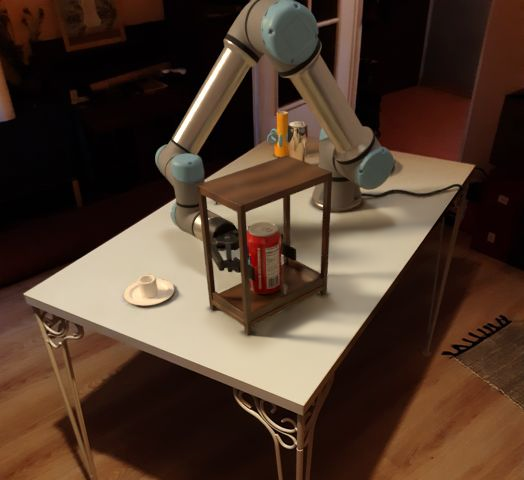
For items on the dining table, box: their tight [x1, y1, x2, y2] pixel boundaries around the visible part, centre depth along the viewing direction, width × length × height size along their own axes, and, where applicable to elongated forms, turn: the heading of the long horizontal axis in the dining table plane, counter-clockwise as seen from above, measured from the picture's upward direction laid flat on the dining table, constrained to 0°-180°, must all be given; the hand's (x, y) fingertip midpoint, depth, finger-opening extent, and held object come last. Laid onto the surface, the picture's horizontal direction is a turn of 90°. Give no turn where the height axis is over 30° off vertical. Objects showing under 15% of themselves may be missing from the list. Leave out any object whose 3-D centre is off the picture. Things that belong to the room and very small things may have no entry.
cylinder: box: [266, 110, 290, 158], centre depth 204 cm, size 12×10×15 cm
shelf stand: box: [197, 155, 332, 336], centre depth 123 cm, size 14×24×30 cm, turn 130°
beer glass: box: [287, 120, 309, 162], centre depth 194 cm, size 7×7×15 cm
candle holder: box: [123, 274, 175, 306], centre depth 135 cm, size 12×12×4 cm
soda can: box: [247, 221, 282, 294], centre depth 126 cm, size 8×8×15 cm
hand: (274, 264), depth 124 cm, fingers open, 11 cm apart
